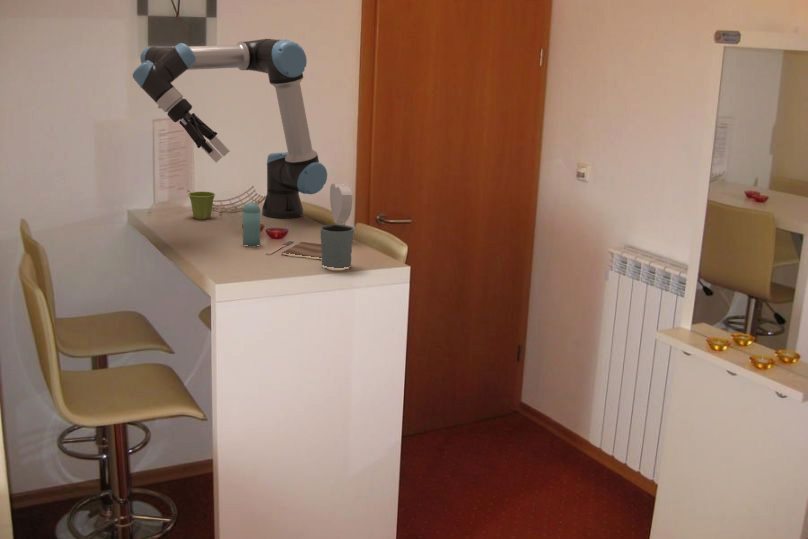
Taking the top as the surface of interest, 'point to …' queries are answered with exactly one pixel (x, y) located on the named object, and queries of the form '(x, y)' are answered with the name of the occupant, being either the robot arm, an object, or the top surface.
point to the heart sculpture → (340, 202)
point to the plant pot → (201, 204)
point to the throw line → (288, 242)
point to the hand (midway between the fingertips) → (223, 156)
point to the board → (306, 249)
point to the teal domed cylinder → (251, 224)
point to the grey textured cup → (336, 245)
